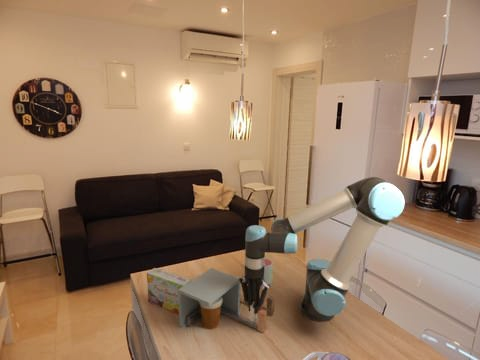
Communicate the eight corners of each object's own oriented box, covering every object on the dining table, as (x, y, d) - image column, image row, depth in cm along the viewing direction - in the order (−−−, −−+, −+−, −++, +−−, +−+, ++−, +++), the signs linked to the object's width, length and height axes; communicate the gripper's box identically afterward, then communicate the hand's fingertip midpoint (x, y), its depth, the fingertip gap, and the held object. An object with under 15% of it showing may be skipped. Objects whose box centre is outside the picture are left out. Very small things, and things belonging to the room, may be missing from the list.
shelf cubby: (239, 313, 133) (240, 278, 130) (209, 342, 116) (209, 302, 113) (211, 301, 142) (211, 268, 138) (179, 327, 124) (178, 289, 121)
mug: (267, 286, 155) (268, 268, 152) (251, 281, 159) (251, 263, 157) (278, 274, 166) (279, 257, 164) (263, 270, 171) (264, 253, 169)
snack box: (147, 303, 140) (145, 272, 136) (155, 296, 145) (154, 266, 141) (185, 317, 130) (184, 285, 127) (193, 310, 135) (192, 279, 132)
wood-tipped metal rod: (266, 329, 124) (267, 311, 122) (244, 354, 110) (245, 335, 109) (212, 305, 138) (212, 289, 137) (187, 325, 125) (186, 308, 123)
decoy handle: (274, 313, 134) (274, 296, 132) (271, 316, 132) (272, 299, 130) (234, 297, 145) (235, 282, 143) (231, 300, 143) (231, 284, 141)
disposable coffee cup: (219, 333, 121) (219, 306, 119) (195, 330, 123) (195, 302, 120) (225, 318, 130) (225, 292, 128) (203, 315, 132) (203, 289, 130)
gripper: (274, 266, 120) (272, 320, 125) (245, 257, 127) (244, 308, 132) (264, 274, 113) (262, 330, 119) (235, 264, 120) (234, 318, 126)
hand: (253, 319), depth 125 cm, fingers closed
